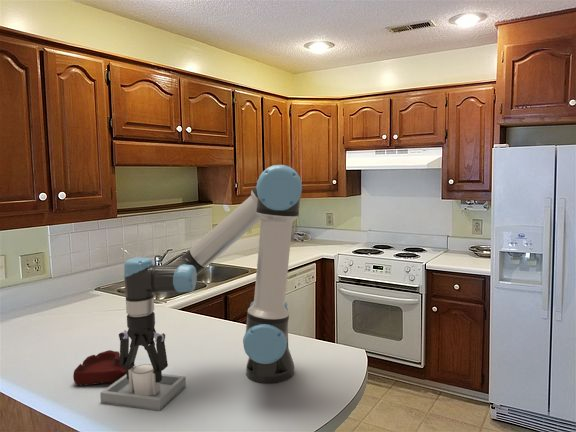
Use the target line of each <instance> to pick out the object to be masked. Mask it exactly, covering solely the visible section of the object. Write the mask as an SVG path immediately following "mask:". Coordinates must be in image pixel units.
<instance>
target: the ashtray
mask: <svg viewBox="0 0 576 432" xmlns="http://www.w3.org/2000/svg"><path fill="white" fill-rule="evenodd" d="M133 366H136V364H135V365H133ZM126 374H127V373H126V368H125V367H124V366H122V367H121V366H120V351H116V350H115V351H114V350H111V349H110V350H106V351H102V352H99V353H97V354H92V355H91V354H90V355H89V356H87V357H86V358H85V359H84V360H83V361H82V363H79V364H78V365H77V366H76V368H75V369H74V371H73V375H72V376H73V377H72V378H73V382H74V384H75V385H77V386H90V385H91V386H92V385H98V384H105V383H115V382H116V381H117V380H119V379H120V378H122V377H123V376H124V375H126Z"/></svg>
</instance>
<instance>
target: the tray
mask: <svg viewBox="0 0 576 432" xmlns="http://www.w3.org/2000/svg"><path fill="white" fill-rule="evenodd" d="M185 386H187V379H186V376H185V375H176V374H167V373H162V380H161V381H160V391H159V392H158V393H157V394H156V395H153V394H151V395H149V396H143V395H135V392H134V391H133V392H130V389H129V379H127V374H126V375H124V376H123V377H122V378H120V379H119V380H117V381H115V382H112V384H110V385H108V387H106V388H105V389H103V390H102V391H100V403H101V404H106V405H114V406H120V407H127V408H128V407H130V408H136V409H143V410H144V409H145V410H151V411H156V412H157V411H160V412H161V411H162V410H163V408H165V407H166V406H167V405H168V404H169V403H170V402H171V401H172V400H173V399H174V398H175V397H177V395H179V393H180V392H182V391H183V390H184V389H185V388H186V387H185ZM184 387H185V388H184Z"/></svg>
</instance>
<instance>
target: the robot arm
mask: <svg viewBox="0 0 576 432" xmlns="http://www.w3.org/2000/svg"><path fill="white" fill-rule="evenodd" d="M256 182H257V183H256V186H255V187H253V189H252V190H251V191H250V192H251V193H250V196H249V197H248V198H246V199H245V200H244V201H242V202H241V203H240V204H239V205H238V206H237V207H236V208H235V209H234V210H232V212H231V213H230V214H228V215H227V216H226V217H225V218H224V219H222V220H221V221H220V222H219V223H218V224H217V225H215V226H214V227H213V228H212V229H211V230H210V231H209V232H207V233H206V234H205V235H204V236H203V237H202V238H201V239H199V240H198V241H197V242H195V244H194V245H193V246H192V247H190V249H188V250H187V251H186V252H185V253H183V254H182V255H181V256H180V257H179V258H178V259H176V260H175V261H173V262H172V263H171V264H164V265H163V264H161V265H158V264H157V265H156V264H153V259H151V258H150V257H133V258H128V259H127V260H125V261H124V267H123V269H124V272H123V275H124V276H123V278H124V289H125V313H126V314H127V315H126V325H127V326H126V327H127V330H125V329H124V330H123V331H121V332H120V333H119V334H118V338H119V343H120V344H119V354H120V366H121V367H122V366H124V367H125V368H126V373H127V379H129V389H130V392H133V391H134V386H133V379H132V373H131V370H132V368H134V367H136V366H137V365H136V363H135V360H136V358H137V354H138V350H139V347H140V346H142V347H143V348H144V350H145V351H146V353H147V355H148V358H149V361H150V364H152V367H153V369H154V371H153V372H152V391H153V395H156V394H157V393H158V392H159V391H160V381H161V380H162V374H163V372H162V371H164V370H165V369H166V368H167V367H168V366H169V364H168V358H167V357H168V355H167V350H166V345H165V340H166V334H165V333H158V332H157V331H156V329H155V326H156V314H155V299H154V298H155V297H154V296H155V294H154V293H180V294H181V293H187V292H193V291H194V290H195V289H196V285H197V277H198V275H199V274H200V273H202V271H204V270H205V269H206V268H207V267H208V266H209V265H211V263H213V262H214V261H215V260H216V259H217V258H219V257H220V256H221V255H222V254H223V253H225V251H227V250H228V249H229V248H230V247H231V246H232V245H234V244H235V243H236V242H238V240H240V239H241V238H242V237H243V236H244V235H245V234H247V233H248V232H249V231H251V229H252V228H253V227H255V226H256V225H257V224H258V223H259V222H260V229H259V231H260V232H259V239H258V250H257V251H258V253H257V263H256V274H255V275H256V276H255V283H254V284H255V287H254V295H253V297H254V298H253V301H252V302H250V305H249V307H248V308H247V314H246V325H245V326H246V327H245V334H244V336H243V339H242V342H243V350H244V352H245V354H246V355H247V356H248V359H247V362H246V367H245V372H246V373H245V374H246V376H247V378H248V379H249V380H252V381H254V382H257V383H262V384H275V383H280V382H284V381H287V380H289V379H290V378H292V377H293V376H294V374H295V363H294V359H293V357H292V354H291V350H290V349H289V320H290V319H289V318H290V312H289V308H288V302H287V301H286V292H287V283H288V274H289V263H290V262H289V261H290V251H291V239H292V229H293V222H294V221H295V220H296V219H298V218H299V215H300V206H301V205H300V203H301V196H302V190H303V182H302V178H301V177H300V175H299V174H298V172H297V171H296V170H295V169H294V168H293V167H291V166H289V165H286V164H285V165H284V164H274V165H271V166H268V167H267V168H265V170H263V171H262V172H261V174H260V175H259V177H258V179H257V181H256ZM154 339H155V340H154ZM130 340H131V341H130ZM133 365H135V366H133Z"/></svg>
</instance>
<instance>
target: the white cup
mask: <svg viewBox="0 0 576 432" xmlns="http://www.w3.org/2000/svg"><path fill="white" fill-rule="evenodd" d="M135 366H136V367H134V368H132V370H131V373H132V379H133V386H134V392H135V395H143V396H149V395H151V394H153V391H152V372H153V371H154V369H153V367H152V364H151V363H143V364H138V365H135Z"/></svg>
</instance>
